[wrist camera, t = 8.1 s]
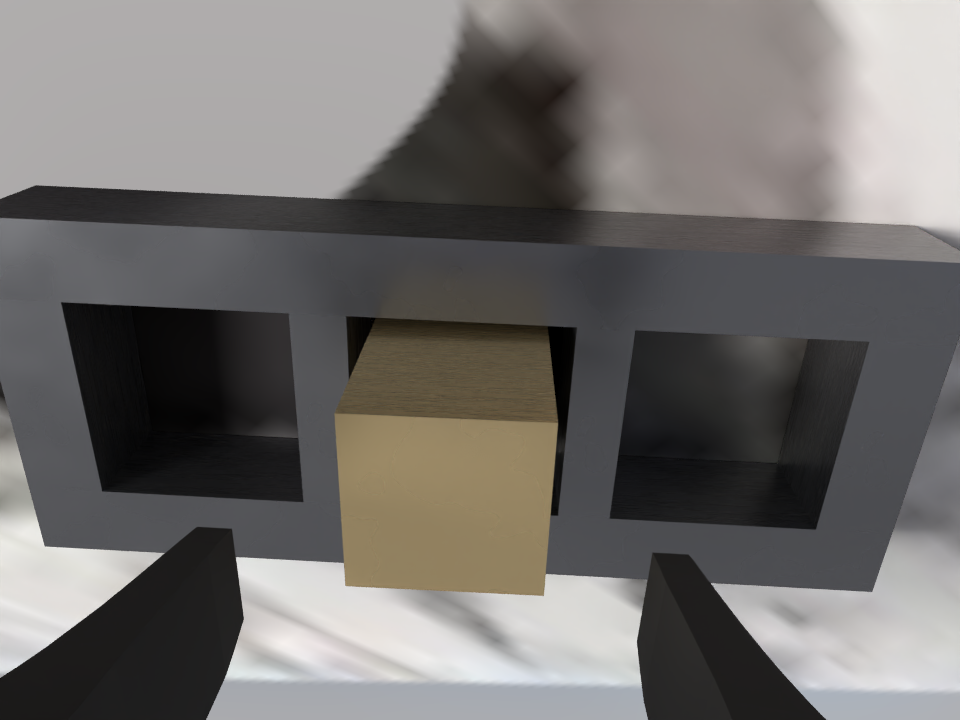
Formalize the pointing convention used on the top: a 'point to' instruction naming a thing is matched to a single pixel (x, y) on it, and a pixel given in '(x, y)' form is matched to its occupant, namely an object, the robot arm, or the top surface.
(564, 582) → the top surface
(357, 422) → the tan rectangular block
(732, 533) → the grey compartment tray
